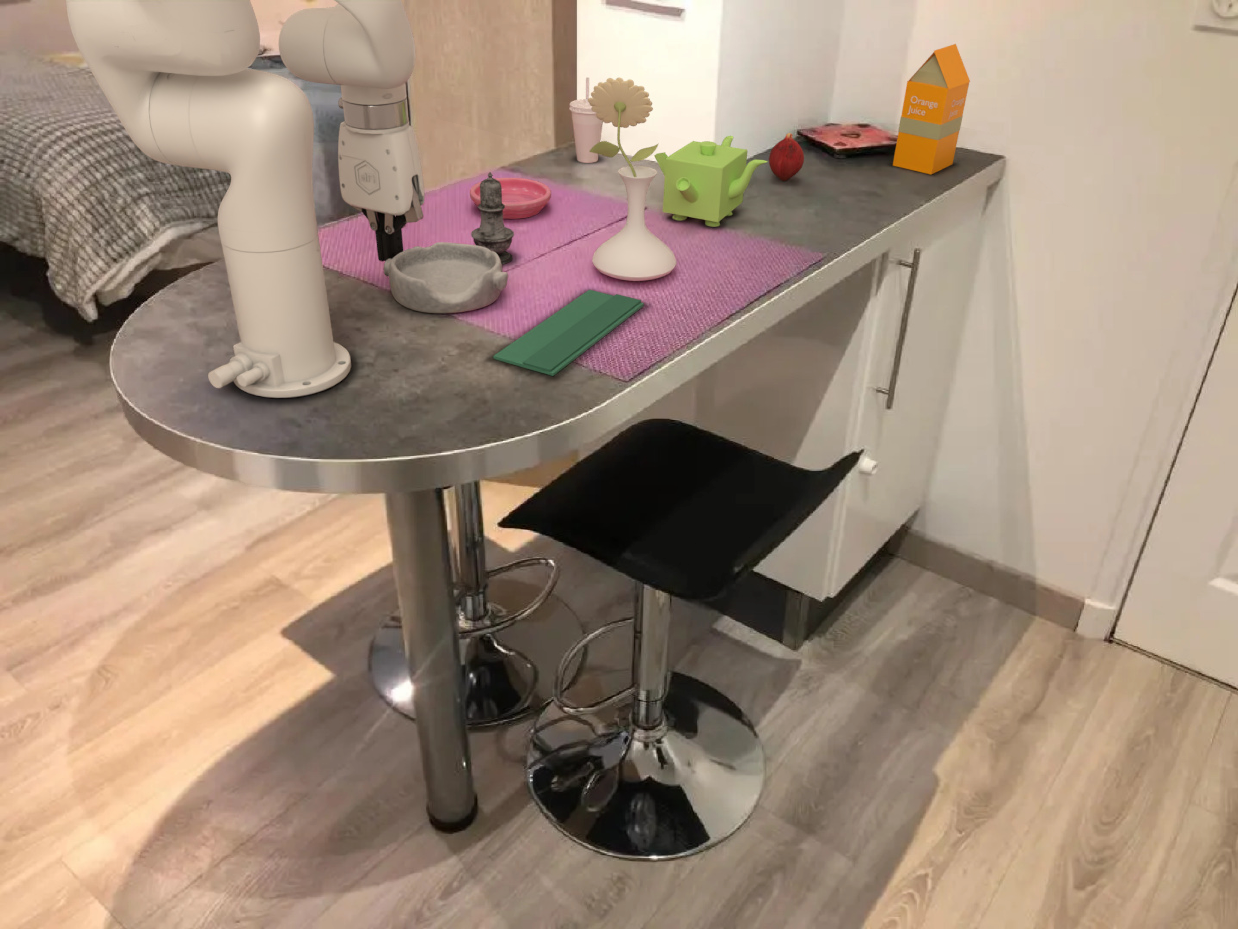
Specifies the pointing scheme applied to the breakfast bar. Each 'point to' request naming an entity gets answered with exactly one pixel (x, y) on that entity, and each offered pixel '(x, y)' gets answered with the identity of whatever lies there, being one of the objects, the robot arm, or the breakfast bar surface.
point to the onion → (786, 158)
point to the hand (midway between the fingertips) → (391, 258)
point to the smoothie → (585, 128)
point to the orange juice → (932, 113)
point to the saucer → (518, 197)
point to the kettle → (705, 180)
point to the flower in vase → (629, 188)
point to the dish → (446, 277)
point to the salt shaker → (493, 221)
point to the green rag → (569, 332)
